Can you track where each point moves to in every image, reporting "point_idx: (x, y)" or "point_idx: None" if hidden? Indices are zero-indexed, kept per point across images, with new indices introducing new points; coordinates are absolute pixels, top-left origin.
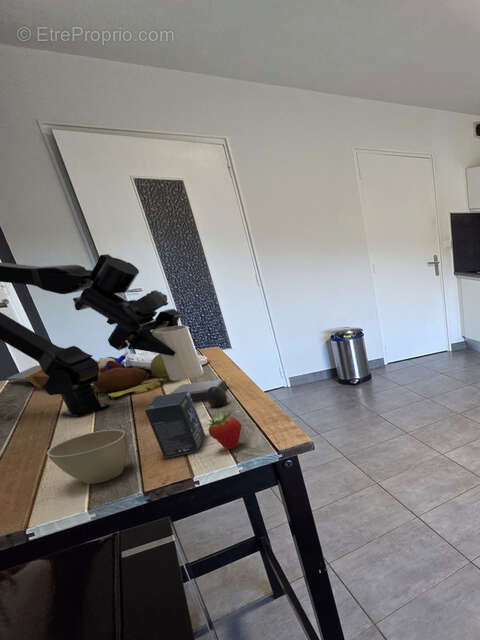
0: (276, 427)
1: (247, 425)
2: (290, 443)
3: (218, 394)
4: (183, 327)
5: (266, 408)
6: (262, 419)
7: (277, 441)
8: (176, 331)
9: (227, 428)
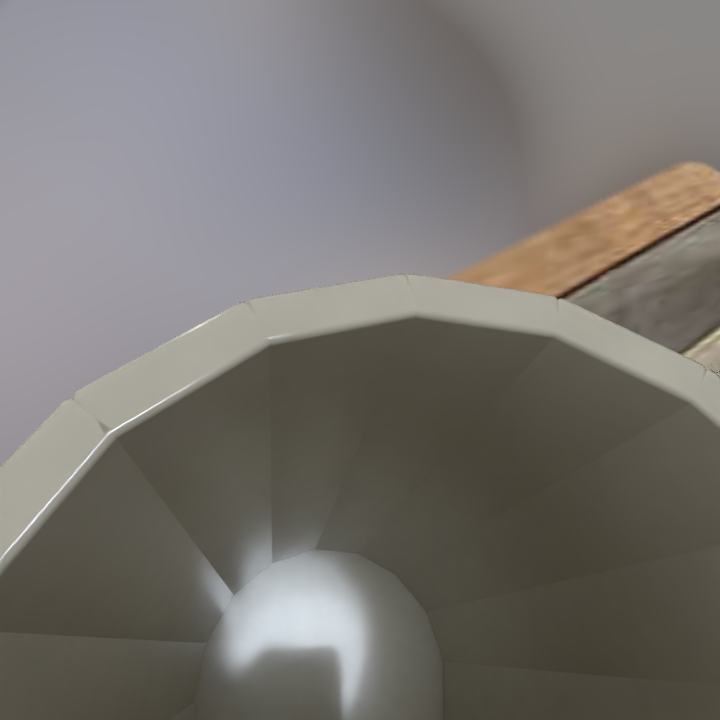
0: (628, 217)
1: (619, 292)
2: (707, 176)
3: None
4: (98, 494)
5: (479, 273)
6: (574, 262)
7: (703, 201)
8: (702, 387)
9: None
